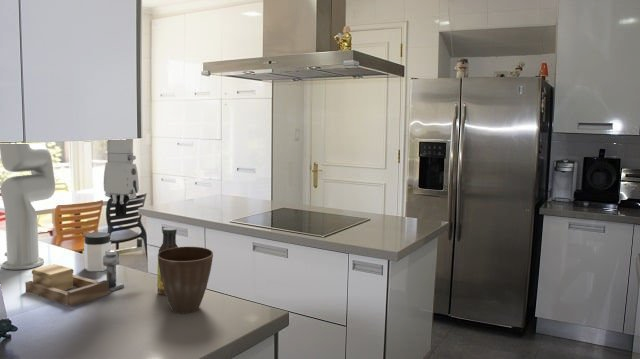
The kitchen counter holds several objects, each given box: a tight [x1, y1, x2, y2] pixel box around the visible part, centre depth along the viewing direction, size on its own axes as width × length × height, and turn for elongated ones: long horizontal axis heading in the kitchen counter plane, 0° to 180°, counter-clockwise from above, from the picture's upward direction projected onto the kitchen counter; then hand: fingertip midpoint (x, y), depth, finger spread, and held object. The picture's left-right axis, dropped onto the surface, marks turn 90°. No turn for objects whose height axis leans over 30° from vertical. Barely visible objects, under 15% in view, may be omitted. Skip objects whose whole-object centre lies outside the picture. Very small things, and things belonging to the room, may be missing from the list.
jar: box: [83, 231, 112, 272], centre depth 172 cm, size 9×8×12 cm
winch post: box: [103, 254, 125, 293], centre depth 153 cm, size 5×5×10 cm
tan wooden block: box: [31, 263, 74, 291], centre depth 151 cm, size 9×7×6 cm
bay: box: [24, 274, 110, 307], centre depth 148 cm, size 22×12×4 cm, turn 61°
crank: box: [105, 238, 143, 257], centre depth 155 cm, size 12×3×4 cm, turn 137°
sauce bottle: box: [156, 227, 179, 296], centre depth 150 cm, size 6×6×20 cm
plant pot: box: [157, 246, 214, 314], centre depth 138 cm, size 15×15×16 cm
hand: (120, 215), depth 157 cm, fingers closed
